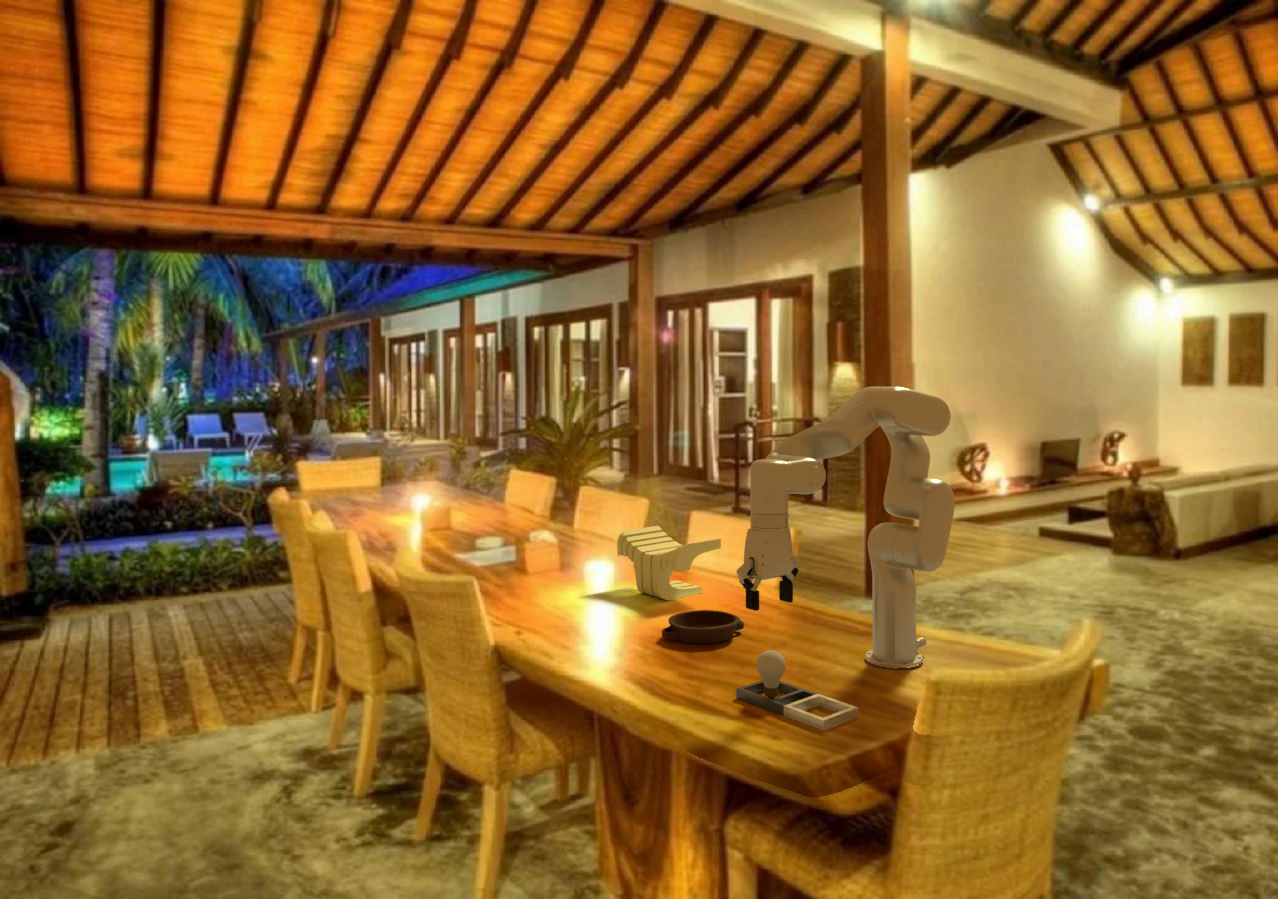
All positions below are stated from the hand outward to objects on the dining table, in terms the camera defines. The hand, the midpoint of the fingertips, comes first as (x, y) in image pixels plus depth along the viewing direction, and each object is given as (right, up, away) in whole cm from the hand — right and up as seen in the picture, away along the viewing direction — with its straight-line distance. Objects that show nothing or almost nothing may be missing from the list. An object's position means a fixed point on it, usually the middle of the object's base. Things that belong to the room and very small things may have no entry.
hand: (769, 605), depth 186 cm
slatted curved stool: (-17, -12, +91) cm, 93 cm away
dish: (-10, -16, +46) cm, 49 cm away
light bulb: (+1, -20, +2) cm, 20 cm away
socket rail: (+4, -20, -3) cm, 20 cm away
